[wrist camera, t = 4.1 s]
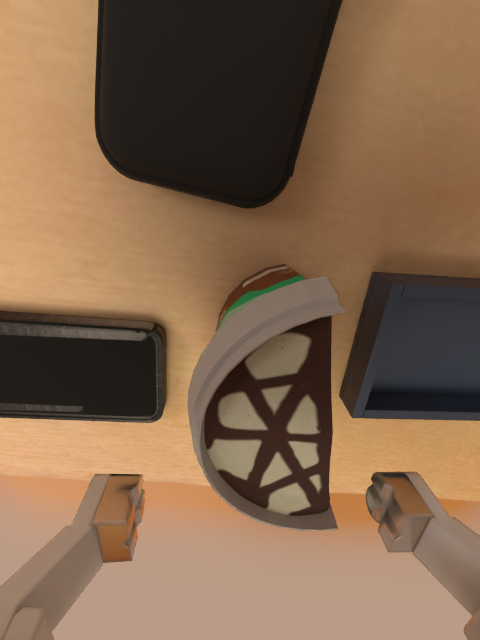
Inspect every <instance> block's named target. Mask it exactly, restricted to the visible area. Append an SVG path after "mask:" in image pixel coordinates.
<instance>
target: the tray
mask: <svg viewBox="0 0 480 640" xmlns="http://www.w3.org/2000/svg"><path fill="white" fill-rule="evenodd" d="M339 396H340V398H341V400H342V401H343V403H344V405H345V406H346V408H347V410H348V412H349V413H350V415H351V417H352V418H376V419H425V420H474V421H480V279H476V278H460V277H445V276H429V275H414V274H398V273H383V272H373V273H372V276H371V280H370V284H369V287H368V291H367V295H366V299H365V302H364V306H363V310H362V313H361V317H360V321H359V325H358V328H357V332H356V336H355V339H354V343H353V347H352V351H351V354H350V358H349V362H348V365H347V369H346V373H345V377H344V380H343V384H342V388H341V391H340V395H339Z"/></svg>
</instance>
